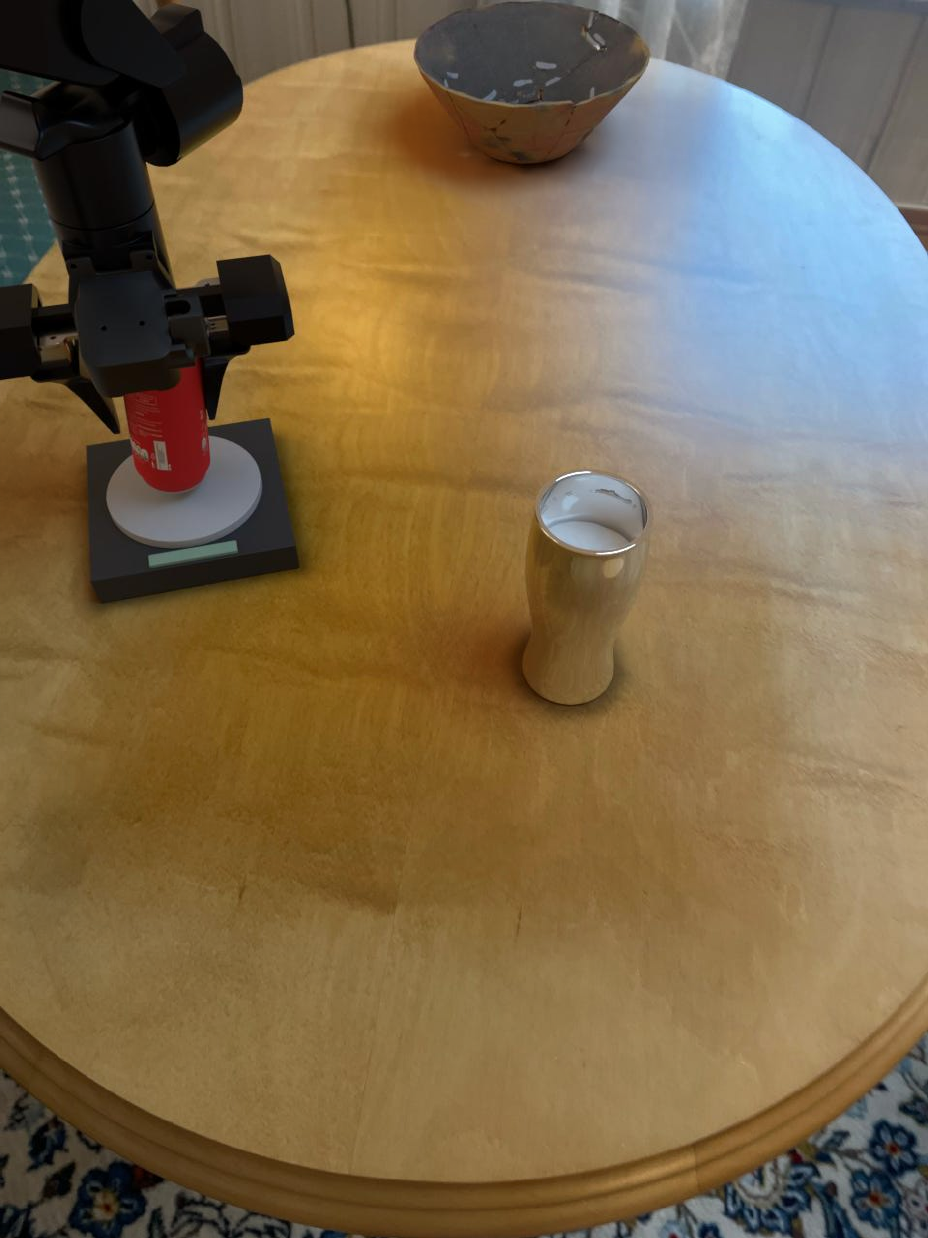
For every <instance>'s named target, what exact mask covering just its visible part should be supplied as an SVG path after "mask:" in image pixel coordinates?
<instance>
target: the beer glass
mask: <svg viewBox="0 0 928 1238" xmlns="http://www.w3.org/2000/svg"><path fill="white" fill-rule="evenodd" d="M654 514H655V513H654V508H653V505H652V502H651V500H650V499H649V497H648V495H647V494H646V493H645V492H644V490H643V488H642V489H641V487H640V486H639V485H637V484H636V483H635V482H633V481H632V480H630V479H629V478H627V477H625V476H622V475H621V474H617V473H615V472H612V471H607V470H603V469H596V468H583V469H582V468H581V469H575V470H570V471H566V472H563V473H560V474H558V475H556V476H555V477H552V478H551V479H550V480H548V481H547V482H546V483H545V484H543V486H542V487H541V488H540V490H539V491H538V492H537V495H536V497H535V499H534V505H533V513H532V517H531V521H530V526H529V531H528V534H527V535H528V536H527V543H526V550H525V559H524V560H525V561H524V581H525V592H526V598H527V605H528V611H529V616H530V623H531V632H530V637H529V639H528V641H527V644H526V646H525V648H524V651H523V654H522V658H521V659H522V660H521V668H522V674H523V676H524V679H525V681H526V682H527V684H528V686H529V687H530V688H531V689H532V691H534V692H535V693H536V694H537V695H538V696H540V697H541V698H543V699H544V700H547V701H549V702H552V703H555V704H559V705H568V706H577V705H583V704H586V703H589V702H592V701H594V700H596V699H598V698H599V697H600V696H601V695H602V694H603V693H605V691H606V690H607V689H608V687H609V686H610V684H611V683H612V679H613V676H614V670H615V669H614V666H615V665H614V654H613V653H614V652H613V651H614V650H613V649H614V644H615V641H616V639H617V637H618V635H619V633H620V631H621V630H622V627H623V625H624V624H625V622H626V620H627V618H628V617H629V615H630V613H631V612H632V609H633V607H634V606H635V605H634V604H635V603H636V600H637V598H638V596H639V593H640V591H641V587H642V584H643V581H644V578H645V574H646V570H647V564H648V560H649V555H650V554H649V553H650V547H651V537H652V529H653V525H654V519H655V515H654Z"/></svg>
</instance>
